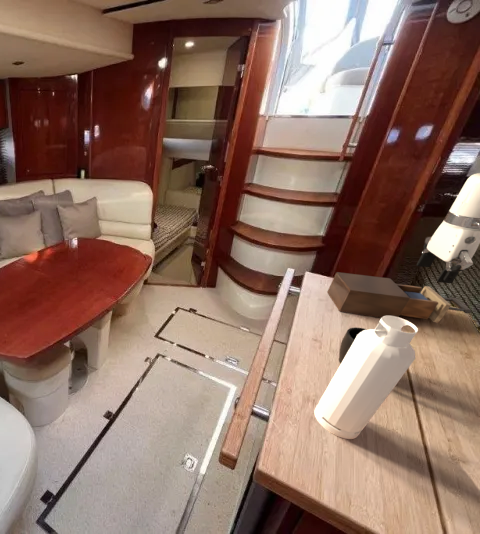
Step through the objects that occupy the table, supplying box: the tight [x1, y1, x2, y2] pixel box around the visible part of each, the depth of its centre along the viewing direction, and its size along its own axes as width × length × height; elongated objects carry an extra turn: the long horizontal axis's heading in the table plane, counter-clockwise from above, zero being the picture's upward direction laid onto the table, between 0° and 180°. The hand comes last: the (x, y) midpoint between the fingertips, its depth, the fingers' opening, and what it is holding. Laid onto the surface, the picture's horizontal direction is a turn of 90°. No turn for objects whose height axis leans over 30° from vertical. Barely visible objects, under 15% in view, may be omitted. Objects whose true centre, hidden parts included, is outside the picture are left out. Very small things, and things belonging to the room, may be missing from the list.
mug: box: [338, 326, 368, 364], centre depth 77 cm, size 8×12×10 cm
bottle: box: [313, 316, 419, 440], centre depth 60 cm, size 8×8×28 cm
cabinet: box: [326, 271, 410, 319], centre depth 101 cm, size 15×12×9 cm
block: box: [404, 291, 428, 300], centre depth 97 cm, size 4×4×4 cm
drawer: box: [395, 283, 472, 324], centre depth 97 cm, size 21×10×7 cm, turn 72°
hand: (432, 273), depth 92 cm, fingers open, 9 cm apart
